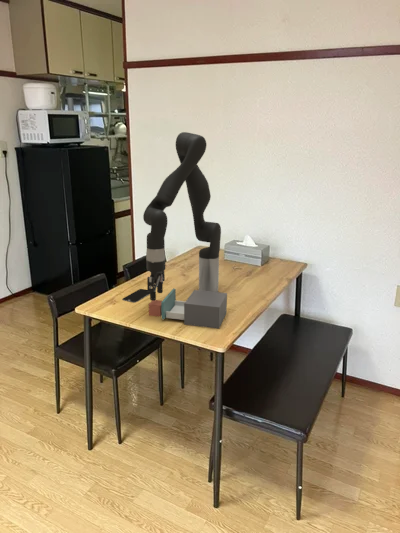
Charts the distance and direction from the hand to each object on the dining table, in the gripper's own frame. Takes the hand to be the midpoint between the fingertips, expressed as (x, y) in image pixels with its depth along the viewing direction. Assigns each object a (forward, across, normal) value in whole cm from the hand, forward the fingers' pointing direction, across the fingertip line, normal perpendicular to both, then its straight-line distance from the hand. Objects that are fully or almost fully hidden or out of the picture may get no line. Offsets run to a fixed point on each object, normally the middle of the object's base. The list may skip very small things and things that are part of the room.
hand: (156, 296), depth 177 cm
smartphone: (+8, -17, -15) cm, 24 cm away
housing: (+8, -1, +21) cm, 22 cm away
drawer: (+7, -1, +11) cm, 13 cm away
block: (+8, -1, 0) cm, 8 cm away
